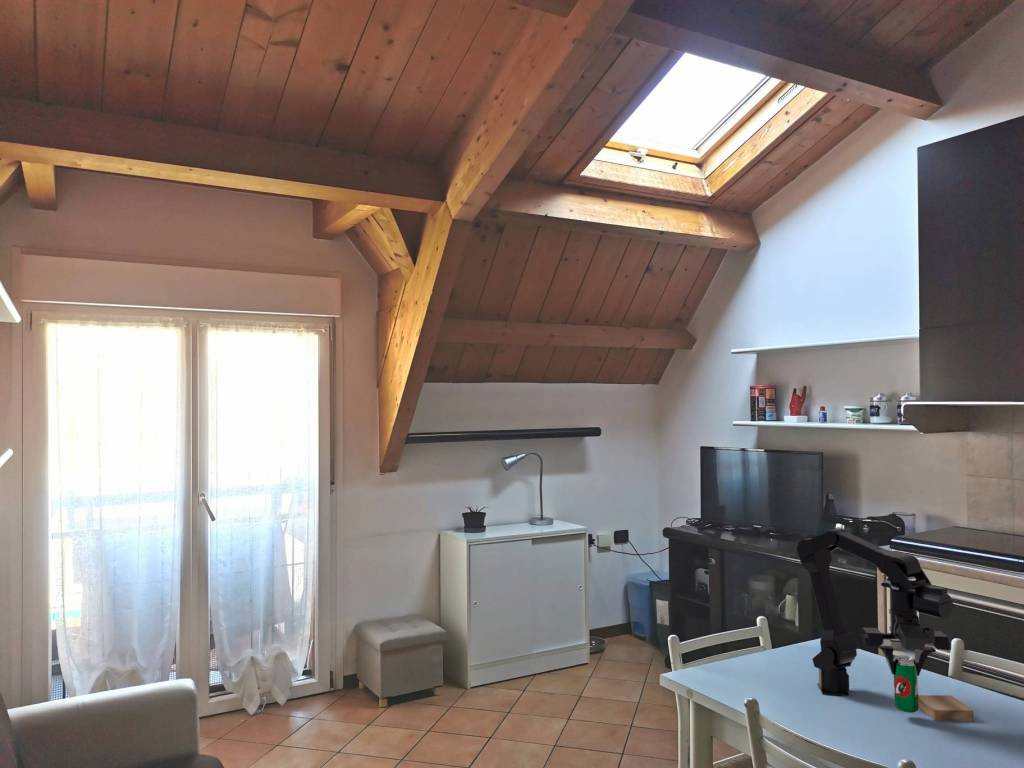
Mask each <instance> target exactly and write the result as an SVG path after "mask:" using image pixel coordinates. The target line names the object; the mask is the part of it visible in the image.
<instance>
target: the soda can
mask: <svg viewBox="0 0 1024 768" xmlns="http://www.w3.org/2000/svg"><path fill="white" fill-rule="evenodd" d="M893 660H894V668H895V671H894V675H893V692H894V707H896V709H897V710H899V711H900V712H903V713H908V714H909V713H910V714H913V713H917V712H918V711H919V710H920V709H919V699H918V695H919V683H918V681H919V678H918V677H919V676H917V664H916V662H915V657H912V656H909V655H901V654H900V655H896V656H893Z"/></svg>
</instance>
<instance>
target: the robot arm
mask: <svg viewBox="0 0 1024 768" xmlns="http://www.w3.org/2000/svg"><path fill="white" fill-rule="evenodd" d="M795 547H796V548H795V549H796V553H797V556H798V558H799V561H800V564H801V565H802V566H803V568H804V569H805V570H806V571H807V573H808V574H809V578H810V580H811V586H812V589H813V594H814V597H815V601H816V602H815V603H816V606H817V609H818V614H819V619H820V623H821V626H822V632H821V635H820V638H819V639H820V641H819V644H820V651H819V653H817V654H816V655H815V656H813V658H812V663H813V667H815V668H817V669H818V682H817V686H818V689H819V691H820V692H821V694H822V695H830V696H831V695H832V696H849V695H850V693H849V691H850V675H849V673H848V672H847V671H848V670H847V667H851V666H852V663H853V661H854V660H855V659H856V657H857V655H858V652H857V651H858V650H859V647H858V646H857V643H856V638H855V634H854V632H850V633H849V632H848V631H847V630H846V629H845V627H844V625H843V621H842V618H841V614H840V610H839V605H838V602H837V598H836V594H835V590H834V585H833V581H832V578H831V574H830V569H831V568H830V567H831V562H832V552H833V551H835V550H836V549H838V548H839V549H841V550H843V551H844V552H847V553H849V554H851V555H853V556H856V557H858V558H859V559H861V560H864V561H866V562H868V563H870V564H872V565H873V566H875V567H876V568H877V569H878V571H879V572H880V573H881V574H882V575H884V576H886V577H887V578H886V579H885V580H884V581H882V582H881V583H880V586H881V587H884V588H889V608H890V609H888V613H889V616H890V618H889V619H890V621H889V622H890V626H889V632H881V631H880V630H879V629H878V627H865V626H864V627H861V628H860V629H859V632H858V633H859V634H858V635H859V640H861V642H862V643H863V644H864V645H865V646H869V647H877V648H878V649H879V650H881V651H882V653H883V655H884V658H885V660H886V663H887V666H888V668H889V670H890V673H891V675H893V676H894V671H895V668H894V650H895V649H894V647H892V645H891V644H892V642H894V643H900V644H901V647H902V648H903V649H905V650H908V651H909V650H914V659H915V662H916V664H917V677H919V676H920V674H921V672H922V670H923V666H924V664H925V661H926V659H927V657H928V656H929V655H930V654H932V653H936V652H937V650H941V651H942V650H944V651H945V650H946V651H951V650H952V640H951V638H950V637H948V635H946V633H944V632H943V631H941V630H934V628H933V627H929V626H928V627H927V626H926V627H925V626H924V627H923V626H921V624H920V619H919V618H920V617H919V615H918V613H919V614H921V615H927V616H930V617H934V618H939V619H943V620H947V619H949V618H950V617H951V615H952V613H953V609H954V602H953V600H952V597H951V595H950V594H948V589H947V588H946V587H942V586H939V587H938V586H933V585H932V582H931V581H930V579H929V578H928V576H927V575H926V573H925V571H924V570H923V569H922V567H921V564H920V561H919V559H918V558H917V557H916V556H914V555H912V554H909V553H906V552H901V551H896V550H895V551H894V550H889V549H885V548H883V547H880V546H878V545H876V544H874V543H872V542H869V541H867V540H865V539H863V538H861V537H859V536H857V535H854V534H852V533H850V532H848V531H847V530H845V529H843V528H836V529H835V528H834V529H829V530H828V531H826V532H824V533H822V534H819V535H817V536H814V537H810V538H803V539H801V540H800V541H798V543H797V545H796V546H795ZM936 649H937V650H936Z"/></svg>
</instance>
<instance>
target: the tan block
mask: <svg viewBox="0 0 1024 768" xmlns="http://www.w3.org/2000/svg"><path fill="white" fill-rule="evenodd" d="M918 699H919V709H918V710H920V711H922V712H923V713H924V714H926V715H927V716H928V717H929V718H931V719H932V720H933V721H934V722H952V721H953V722H974V719H975V718H974V717H975V716H974V715H975V713H974V709H972V708H971V707H970V706H968V705H967V704H965V703H964V702H962V701H961V700H959V699H958V698H956V697H955V696H954V695H951V694H949V695H948V694H946V695H945V694H943V695H942V694H938V695H937V694H933V695H932V694H931V695H929V694H925V695H923V694H921V695H920V694H918Z"/></svg>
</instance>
